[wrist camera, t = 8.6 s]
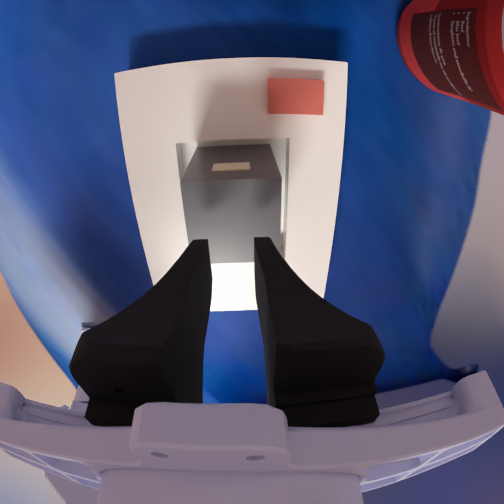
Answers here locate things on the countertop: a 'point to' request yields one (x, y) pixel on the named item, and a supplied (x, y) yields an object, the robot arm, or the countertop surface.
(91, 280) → the countertop surface
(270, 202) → the plug
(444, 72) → the canned food
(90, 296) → the countertop surface
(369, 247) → the countertop surface
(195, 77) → the socket plate
